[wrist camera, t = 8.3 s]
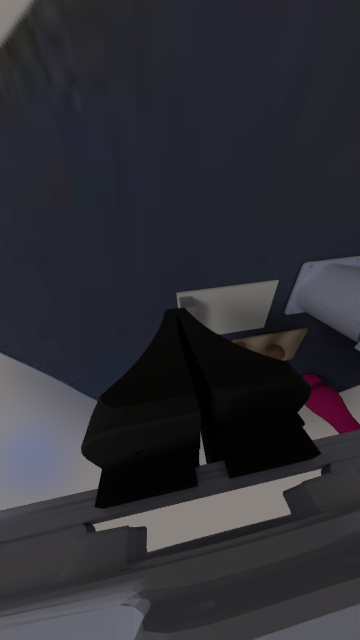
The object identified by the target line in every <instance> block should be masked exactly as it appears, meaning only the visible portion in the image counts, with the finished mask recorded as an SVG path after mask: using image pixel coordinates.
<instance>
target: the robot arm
mask: <svg viewBox="0 0 360 640" xmlns="http://www.w3.org/2000/svg"><path fill="white" fill-rule="evenodd" d="M309 266H310V267H309ZM302 312H306V313H308V314H310V315H311V316H313V317H315V318H317V319H318V320H320V321H322V322H323V323H325V324H327V325H328V326H330V327H332V328H334V329H335V330H337V331H339V332H340V333H342V334H344V335H345V336H347V337H349V338H350V339H352V340H354V341H356V342H357V343H358V344H357V345H356V346H355V348H356V349H357V350H359V351H360V256H354V257H346V258H337V259H329V260H321V261H312V262H306V263H304V264H303V265H302V268H301V270H300V273H299V275H298V278H297V280H296V283H295V286H294V288H293V291H292V293H291V296H290V298H289V301H288V304H287V306H286V309H285V311H284V313H285V314H286V315H289V314H295V313H302ZM311 389H312V388H311V386H310V385H309V383H308V382H307V381H306V380H305V379H304V378H303V377H302V376H301V375H300V374H299V373H298V372H297V371H296V370H295V369H294V368H293V367H292V366H291V365H290V364H289V363H288V362H285V361H282V360H279V359H276V358H273V357H269V356H266V355H263V354H260V353H258V352H255V351H252V350H250V349H247V348H245V347H242V346H240V345H238V344H236V343H233V342H231V341H229V340H227V339H225V338H223V337H222V336H220V335H218V334H217V333H215V332H213V331H212V330H210V329H209V328H207V327H206V326H205V325H203V324H202V323H201V322H200V321H198V320H197V319H196V318H195V317H194V316H193V315H192V314H191V313H189V312H188V311H187V310H186V309H185V308H184V307H183V308H176V309H169V310H166V311H165V313H164V317H163V320H162V323H161V325H160V327H159V329H158V331H157V333H156V335H155V337H154V339H153V340H152V342H151V343H150V345H149V346H148V348H147V349H146V350H145V352H144V353H143V354H142V356H141V357H140V358H139V359H138V360H137V362H136V363H135V364H134V365H133V366H132V367H131V368H130V369H129V370H128V371H127V372H126V373H125V374H124V375H123V376H122V377H121V378H120V379H119V380H118V381H117V382H116V383H115V384H113V385H112V386H111V387H110V388H109V389H108V390H107V391H106V392H104V393H103V394H102V395H101V396H100V397H99V400H98V402H97V405H96V407H95V409H94V411H93V414H92V416H91V419H90V422H89V425H88V428H87V431H86V434H85V437H84V440H83V443H82V446H81V452H82V454H83V456H84V457H85V458H86V459H87V460H89V461H91V462H92V463H94V464H95V465H97V466H98V467H100V468H101V469H102V473H101V477H100V482H99V486H98V489H95V490H90V491H86V492H81V493H77V494H72V495H68V496H63V497H59V498H55V499H50V500H46V501H41V502H37V503H32V504H29V505H24V506H19V507H15V508H10V509H6V510H2V511H0V640H360V430H356V431H351V432H347V433H343V434H339V435H334V436H329V437H325V438H320V439H316V440H311V438H310V437H309V435H308V434H307V433H306V431H305V430H304V429H303V427H302V426H304V425H305V423H304V421H303V420H302V418H301V417H300V415H299V414H298V411H299V410H300V409H301V408H302V407H303V405H304V404H305V403H306V402H307V401H308V399H309V397H310V396H311ZM200 431H201V435H202V441H203V446H204V452H205V457H206V462H207V464H206V465H201V466H200V464H199V449H200ZM322 468H323V469H322ZM318 469H322V470H321V475H322V476H319V477H316V478H313V479H309V480H306V481H304V482H302V483H301V484H299V485H297V486H295V487H293V488H290V489H288V490H285V491H284V492H283V496H284V498H285V500H286V502H287V504H288V506H289V509H290V511H291V514H290V515H287V516H283V517H279V518H275V519H271V520H267V521H263V522H259V523H256V524H252V525H247V526H244V527H240V528H236V529H232V530H228V531H224V532H220V533H217V534H213V535H209V536H206V537H202V538H199V539H194V540H191V541H188V542H183V543H180V544H176V545H173V546H169V547H165V548H162V549H158V550H155V551H151V552H147V548H146V545H147V544H146V543H147V528H146V527H144V526H143V527H129V526H123V527H118V528H113V529H107V530H102V531H98V532H96V531H95V527H94V526H93V525H92V524H96V523H100V522H104V521H109V520H113V519H117V518H121V517H125V516H129V515H133V514H137V513H142V512H146V511H150V510H153V509H158V508H162V507H166V506H170V505H174V504H179V503H182V502H187V501H191V500H195V499H199V498H203V497H207V496H211V495H215V494H219V493H224V492H228V491H232V490H236V489H240V488H244V487H248V486H252V485H257V484H261V483H265V482H269V481H273V480H277V479H281V478H285V477H289V476H293V475H297V474H301V473H306V472H310V471H314V470H318Z"/></svg>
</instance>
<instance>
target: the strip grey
mask: <svg viewBox="0 0 360 640" xmlns="http://www.w3.org/2000/svg"><path fill="white" fill-rule="evenodd" d="M278 282H279V281H278V280H272V281H264V282H256V283H249V284H241V285H233V286H225V287H217V288H210V289H202V290H194V291H186V292H179V293H177V303H178V308H183V307H184V308H185V309H186V310H187V311H188V312H189V313H191V314H192V315H193V316H194V317H195V318H196V319H197V320H198V321H200V322H201V323H202V324H203V325H205V326H206V327H207V328H209V329H210V330H212V331H213V332H215V333H217V334H218V335H219V334H225V333H232V332H238V331H245V330H251V329H257V328H264V325H265V322H266V319H267V316H268V313H269V310H270V307H271V303H272V300H273V297H274V294H275V291H276V288H277V285H278Z"/></svg>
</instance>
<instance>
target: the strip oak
mask: <svg viewBox="0 0 360 640" xmlns="http://www.w3.org/2000/svg"><path fill="white" fill-rule="evenodd" d="M307 330H308V329H307V328H301V329H295V330H289V331H282V332H276V333H270V334H264V335H257V336H251V337H245V338H238V339H232V342H233V343H236V344H238V345H240V346H242V347H245V348H247V349H250V350H252V351H255V352H258V353H260V354H263V355H266V350H267V348H268V347H269V346H271V345H278V346H281V347H282V348H283V349H284V350H285V357H284V359H282V361H283V360H289V359H292V358H293V356H294V354H295V352H296V351H297V349H298V347H299V345H300V343H301V341H302V339H303V338H304V336H305V334H306V332H307ZM266 356H267V355H266Z"/></svg>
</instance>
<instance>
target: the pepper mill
mask: <svg viewBox="0 0 360 640" xmlns="http://www.w3.org/2000/svg"><path fill="white" fill-rule="evenodd" d="M302 377H303V378H304V379H305V380H306V381H307V382H308V383H309V385H310V386H311V388H312V389H311V396H310V397H309V399H308V401H307V402H306V403H305V405H306V406H307V407H308V408H309V409H310V410H311V411H312V412H314V413H315V414H317V415H318V416H320V417H322V418H323V419H324V420H325V421H327V422H328V423H329V424H330V425H331V426H333V427H334V428H335V430H336V431H337V432H338V433H339V434H343V433H347V432H351V431H356V430H360V424H359V423H358V422H357V421H356V420H355V419H354V418H353V417H352V415H351V414H350V412H349V411H348V409H347V407H346V405H345V403H344V402H343V399H342V398H341V396H340V395H339V393H338V392H337V391H336V390H335V389H334V388H333V387H331V386H329V385H326V384H322V380H321V379H320V378H319V377H318V376H317V375H316V374H313V373H310V374H306V375H303V376H302Z"/></svg>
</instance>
